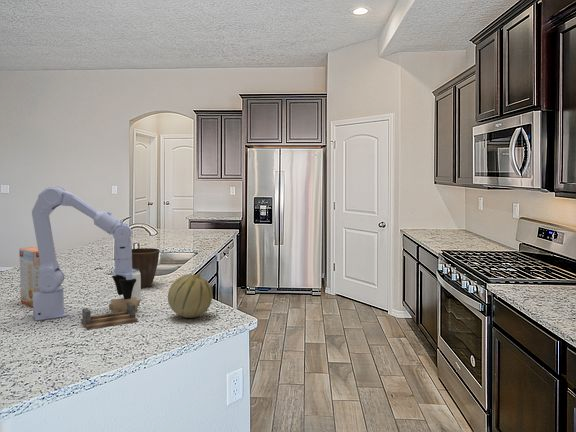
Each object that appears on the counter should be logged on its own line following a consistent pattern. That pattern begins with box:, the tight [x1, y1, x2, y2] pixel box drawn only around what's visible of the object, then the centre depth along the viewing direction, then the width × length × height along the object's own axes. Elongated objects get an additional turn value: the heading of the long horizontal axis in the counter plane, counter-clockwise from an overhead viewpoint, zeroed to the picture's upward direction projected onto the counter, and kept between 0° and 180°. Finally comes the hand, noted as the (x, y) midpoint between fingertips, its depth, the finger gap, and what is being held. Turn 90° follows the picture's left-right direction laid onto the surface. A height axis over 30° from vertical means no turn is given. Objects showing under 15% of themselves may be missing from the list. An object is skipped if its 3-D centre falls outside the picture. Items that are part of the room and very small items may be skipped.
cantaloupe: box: [167, 273, 213, 319], centre depth 164 cm, size 15×15×15 cm
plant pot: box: [132, 247, 160, 289], centre depth 211 cm, size 15×15×16 cm
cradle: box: [80, 302, 139, 330], centre depth 158 cm, size 16×10×5 cm, turn 124°
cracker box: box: [18, 246, 41, 308], centre depth 180 cm, size 14×6×21 cm, turn 47°
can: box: [122, 269, 142, 302], centre depth 186 cm, size 6×6×12 cm
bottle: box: [108, 297, 140, 313], centre depth 170 cm, size 10×5×5 cm, turn 124°
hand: (124, 296), depth 170 cm, fingers open, 7 cm apart
